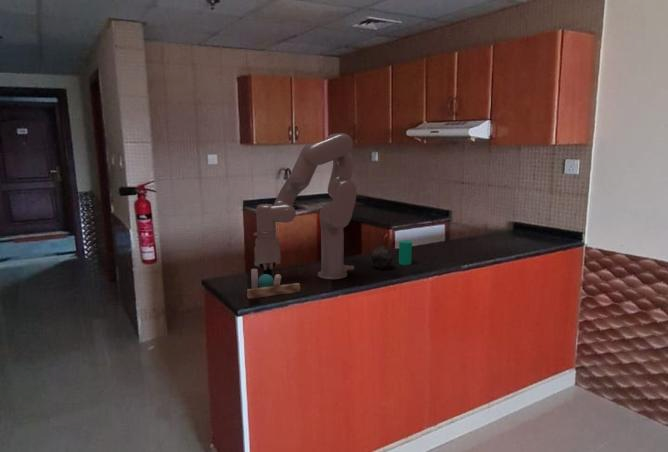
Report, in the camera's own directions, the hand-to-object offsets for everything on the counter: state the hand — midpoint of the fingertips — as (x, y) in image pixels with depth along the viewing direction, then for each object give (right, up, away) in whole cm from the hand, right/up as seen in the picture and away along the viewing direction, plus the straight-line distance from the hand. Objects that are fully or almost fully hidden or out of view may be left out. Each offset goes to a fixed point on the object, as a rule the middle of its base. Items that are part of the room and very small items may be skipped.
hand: (267, 278), depth 191 cm
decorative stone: (+49, +2, +22) cm, 54 cm away
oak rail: (+5, -4, -16) cm, 17 cm away
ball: (+1, 0, -10) cm, 10 cm away
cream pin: (+5, -2, -10) cm, 12 cm away
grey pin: (-3, -4, -13) cm, 14 cm away
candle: (+61, +4, +30) cm, 68 cm away
